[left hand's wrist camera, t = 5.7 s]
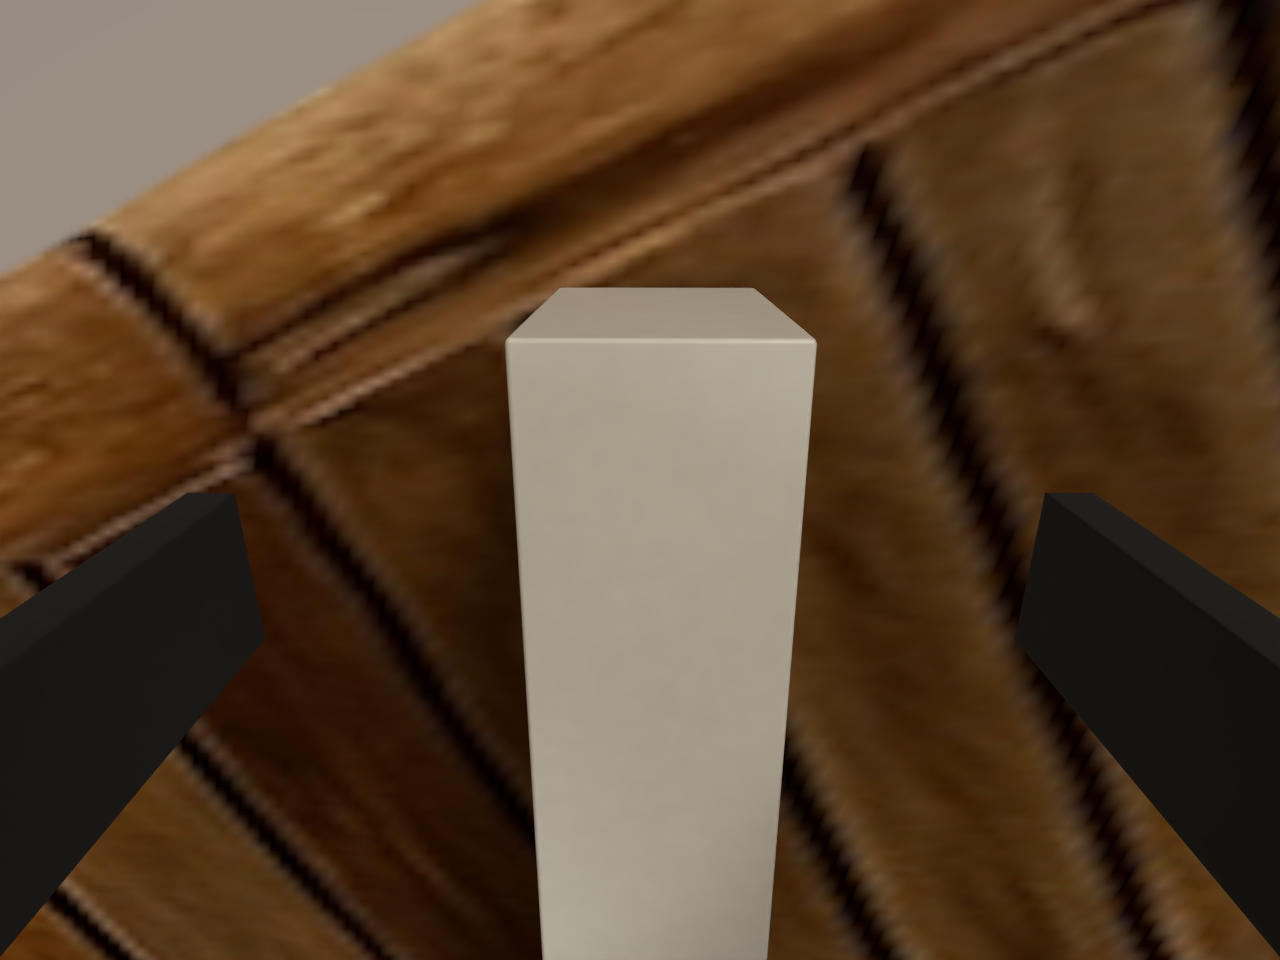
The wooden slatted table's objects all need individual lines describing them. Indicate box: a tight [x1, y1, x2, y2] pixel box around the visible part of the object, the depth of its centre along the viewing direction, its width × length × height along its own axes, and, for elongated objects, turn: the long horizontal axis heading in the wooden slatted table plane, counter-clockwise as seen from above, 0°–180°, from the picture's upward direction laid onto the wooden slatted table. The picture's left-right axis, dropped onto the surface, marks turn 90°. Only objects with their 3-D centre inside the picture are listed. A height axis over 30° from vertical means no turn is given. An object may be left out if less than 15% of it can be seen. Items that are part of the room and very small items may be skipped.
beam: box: [505, 288, 817, 960], centre depth 21 cm, size 34×5×8 cm, turn 0°
